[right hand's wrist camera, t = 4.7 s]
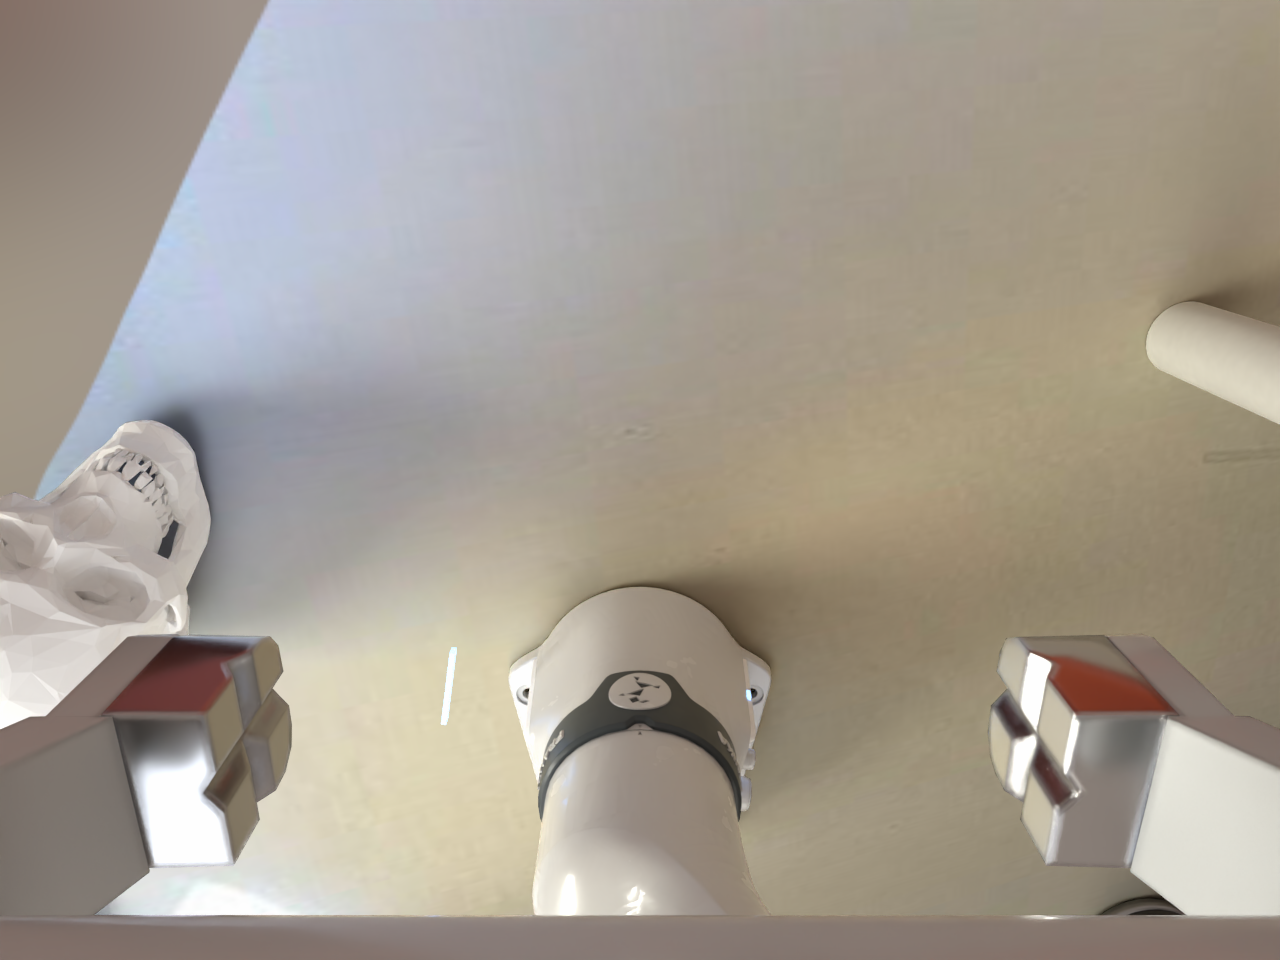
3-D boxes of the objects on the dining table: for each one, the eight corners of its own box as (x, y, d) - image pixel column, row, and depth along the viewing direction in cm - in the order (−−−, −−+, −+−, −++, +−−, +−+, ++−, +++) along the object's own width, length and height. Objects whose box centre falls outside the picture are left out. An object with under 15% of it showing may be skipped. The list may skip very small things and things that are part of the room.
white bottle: (1226, 299, 57) (1438, 359, 42) (1213, 371, 58) (1412, 455, 43) (1151, 302, 57) (1336, 364, 42) (1140, 375, 58) (1314, 459, 43)
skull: (267, 449, 60) (133, 550, 45) (184, 708, 67) (45, 869, 52) (67, 366, 58) (-140, 442, 43) (4, 640, 65) (-193, 785, 50)
